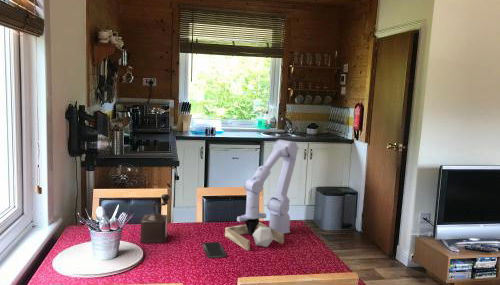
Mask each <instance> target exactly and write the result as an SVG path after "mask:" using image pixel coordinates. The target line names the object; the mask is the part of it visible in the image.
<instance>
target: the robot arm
mask: <svg viewBox="0 0 500 285" xmlns="http://www.w3.org/2000/svg"><path fill="white" fill-rule="evenodd" d="M272 147H273V148H272V151H271V153H270V154H269V156H268V158H267V159H266V161H265V163H264V164H263V165H260V166H258V167H257V170H255V171H256V172H254V174H253V175H252V177H251V178H249V179H247V180H246V182H245V184H244V190H245V194H246V203H245V214H242V215H239V216H237V218H236V221H237V222H239V223H241V222H244V223H245V225H246V226H247V229H248V233H247V234H248V235H249V236H251V237H253V233H254V231H255V229H256V227H257V225H258V223H259V222H260V220H259V219H266V218H267V214H266V213H265V212H259V211H260V194H261V192H263V190H264V184H265V182H266V180H267V179H268V178H269V177H270V174H271V169H272V168H273V167H274V166H275V164H276V163H277V161H279V160H280V158H282V160H283V164H282V167H281V171H280V174H279V176H278V177H279V178H278V181H277V186H276V189H275V192H273V193H272V194H270V197H269V199H268V201H267V203H266V209H268V213H269V224H268V227H270V228H272V229H274V230H276V231H278V232H280V233H282V234H283V235H285V234H289V233H291V231H290V227H291V226H290V225H291V217H290V214H289V211H290V203H291V202H290V201H291V200H290V199H289V197H288V192H289V191H288V190H289V187H290V184H291V181H292V180H291V179H292V176H293V174H294V168H295V165H296V162H297V155H298V150H299V147H298V145H297V143H296V142H295V141H292V140H291V141H290V140H284V139H277V140H275V143H274V145H273V146H272Z"/></svg>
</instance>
